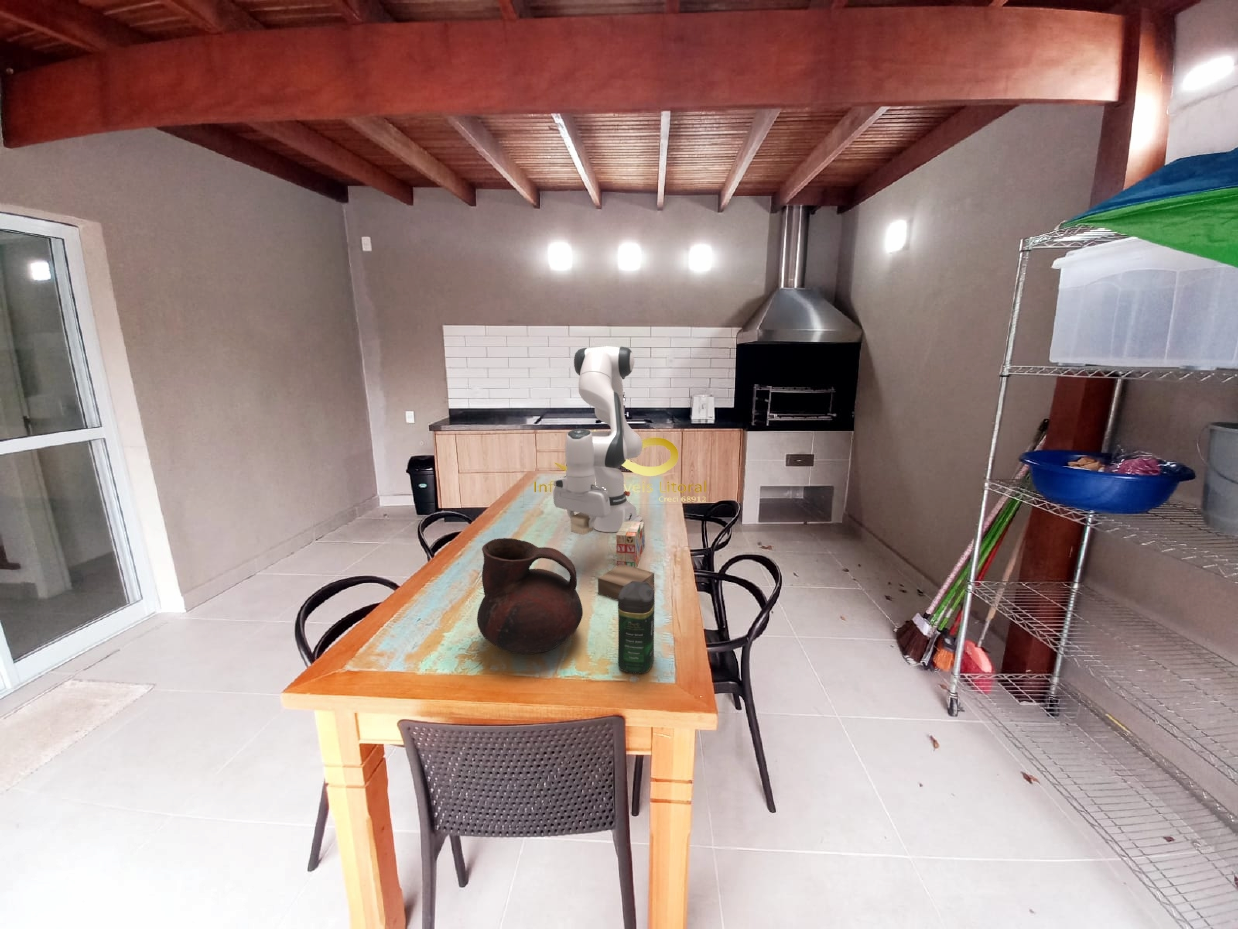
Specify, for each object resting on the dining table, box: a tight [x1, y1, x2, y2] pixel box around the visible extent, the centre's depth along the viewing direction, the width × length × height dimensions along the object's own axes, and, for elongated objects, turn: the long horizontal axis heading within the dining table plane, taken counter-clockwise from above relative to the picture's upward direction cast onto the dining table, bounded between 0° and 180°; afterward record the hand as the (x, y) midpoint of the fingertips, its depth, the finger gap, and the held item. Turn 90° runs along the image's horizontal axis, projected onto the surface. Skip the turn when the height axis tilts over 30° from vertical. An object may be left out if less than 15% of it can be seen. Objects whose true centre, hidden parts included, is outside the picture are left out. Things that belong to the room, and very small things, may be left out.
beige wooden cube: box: [569, 512, 594, 536], centre depth 153 cm, size 5×5×5 cm
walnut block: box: [597, 564, 655, 601], centre depth 144 cm, size 12×12×5 cm
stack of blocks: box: [615, 521, 646, 568], centre depth 168 cm, size 21×6×12 cm, turn 169°
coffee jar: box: [617, 581, 656, 675], centre depth 110 cm, size 10×8×19 cm
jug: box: [476, 537, 584, 655], centre depth 118 cm, size 25×25×25 cm
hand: (582, 525), depth 153 cm, fingers closed on beige wooden cube, 5 cm apart
